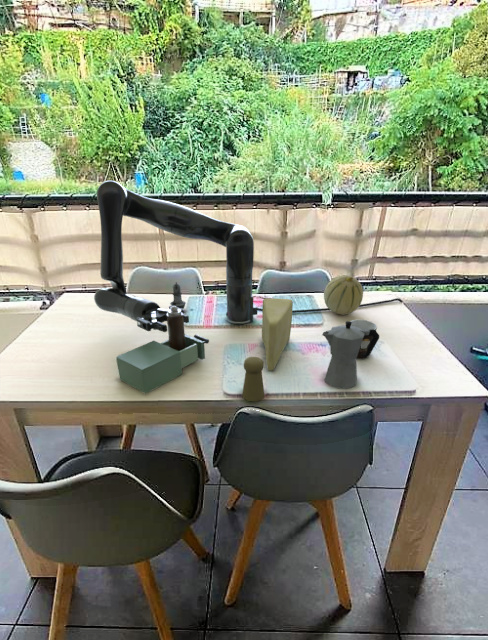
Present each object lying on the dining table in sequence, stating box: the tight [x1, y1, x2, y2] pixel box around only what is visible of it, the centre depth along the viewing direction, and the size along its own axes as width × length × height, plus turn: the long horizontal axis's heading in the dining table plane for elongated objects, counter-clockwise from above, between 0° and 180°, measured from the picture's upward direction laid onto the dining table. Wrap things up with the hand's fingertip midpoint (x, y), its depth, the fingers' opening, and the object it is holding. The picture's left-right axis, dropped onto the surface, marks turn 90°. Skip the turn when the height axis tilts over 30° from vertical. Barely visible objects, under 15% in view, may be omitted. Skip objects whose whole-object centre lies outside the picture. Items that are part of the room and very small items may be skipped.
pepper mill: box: [166, 306, 186, 351], centre depth 123 cm, size 5×5×16 cm
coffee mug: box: [350, 319, 378, 360], centre depth 130 cm, size 12×9×10 cm
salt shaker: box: [169, 281, 186, 314], centre depth 159 cm, size 6×6×12 cm
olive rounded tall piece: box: [241, 356, 265, 403], centre depth 109 cm, size 6×6×11 cm
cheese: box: [261, 297, 294, 371], centre depth 128 cm, size 22×10×15 cm, turn 172°
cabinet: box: [115, 340, 183, 394], centre depth 118 cm, size 13×11×7 cm
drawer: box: [160, 333, 210, 369], centre depth 126 cm, size 17×10×6 cm, turn 140°
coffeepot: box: [321, 320, 380, 389], centre depth 114 cm, size 15×9×18 cm, turn 92°
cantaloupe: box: [323, 274, 364, 316], centre depth 158 cm, size 15×15×15 cm
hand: (177, 324), depth 121 cm, fingers open, 8 cm apart
